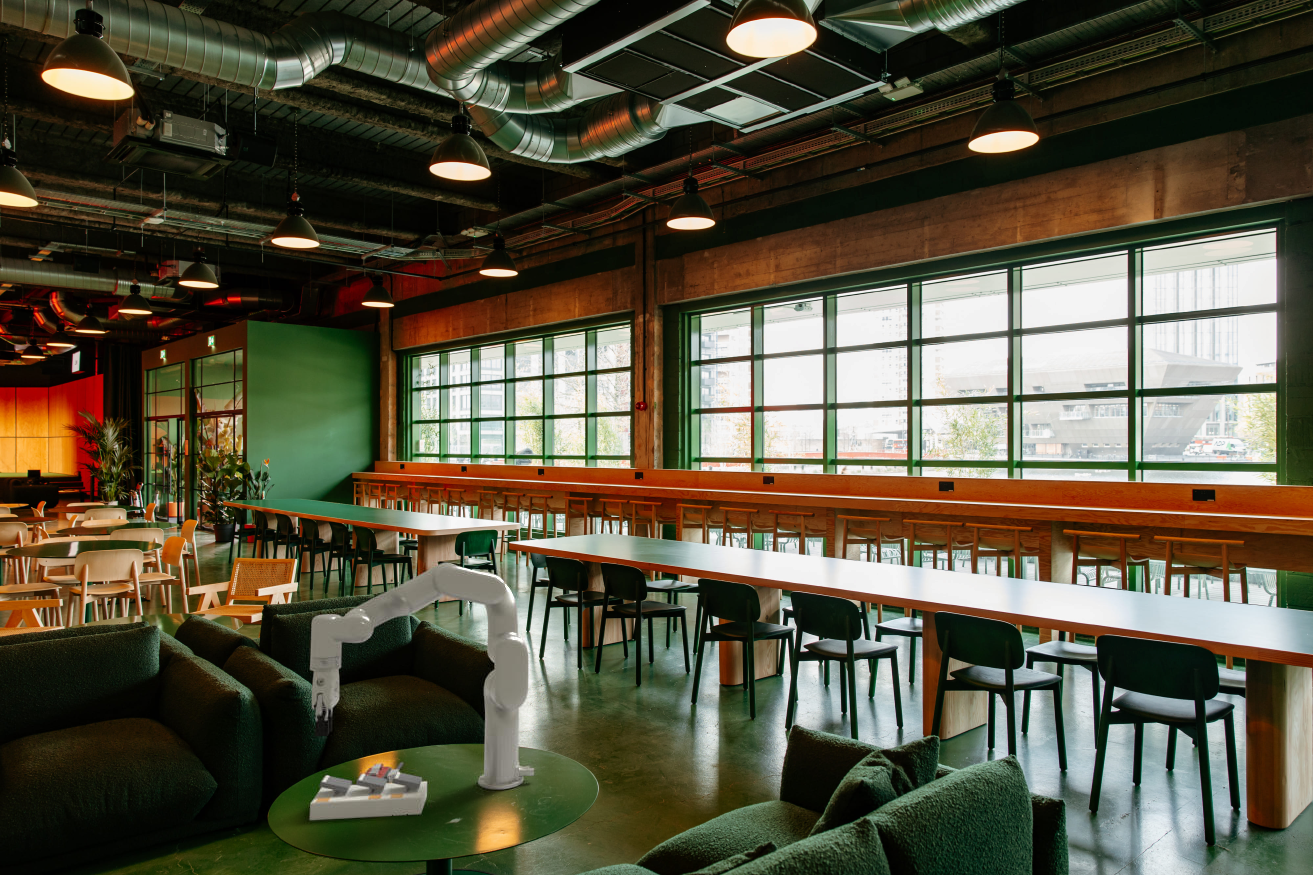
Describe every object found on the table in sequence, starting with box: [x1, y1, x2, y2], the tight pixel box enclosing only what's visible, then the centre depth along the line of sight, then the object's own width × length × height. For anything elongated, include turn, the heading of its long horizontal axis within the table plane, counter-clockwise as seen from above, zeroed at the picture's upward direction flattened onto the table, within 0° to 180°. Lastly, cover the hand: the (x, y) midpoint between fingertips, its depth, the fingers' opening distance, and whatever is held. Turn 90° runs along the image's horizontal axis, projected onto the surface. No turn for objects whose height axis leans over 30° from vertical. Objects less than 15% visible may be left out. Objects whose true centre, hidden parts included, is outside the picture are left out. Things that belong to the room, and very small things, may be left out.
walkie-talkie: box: [364, 761, 404, 783], centre depth 231 cm, size 9×4×20 cm
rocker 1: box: [318, 774, 353, 793], centre depth 209 cm, size 7×5×1 cm
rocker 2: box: [355, 773, 387, 791], centre depth 211 cm, size 7×5×1 cm
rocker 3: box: [391, 771, 423, 789], centre depth 212 cm, size 7×5×1 cm
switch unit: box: [309, 780, 428, 821], centre depth 210 cm, size 27×12×5 cm, turn 99°
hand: (323, 733), depth 210 cm, fingers open, 2 cm apart
